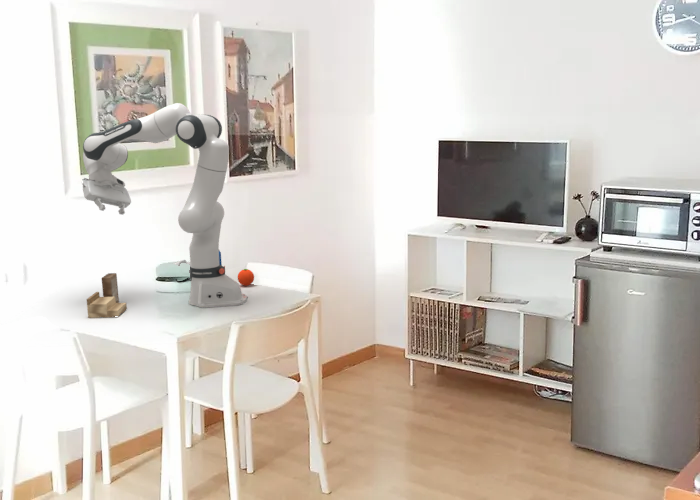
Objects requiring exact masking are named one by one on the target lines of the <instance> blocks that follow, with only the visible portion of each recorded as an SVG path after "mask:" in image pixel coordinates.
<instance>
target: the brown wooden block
mask: <svg viewBox="0 0 700 500" xmlns="http://www.w3.org/2000/svg"><path fill="white" fill-rule="evenodd" d="M101 284H102V285H101V286H102V288H101V289H102V297H115V299H116V303H120V301H119V300H120V298H119V287H118V276H117V272H116V273H115V272H113V273H112V272H111V273H109V272H108V273H107V274H105V275H104V276H103V277H101Z"/></svg>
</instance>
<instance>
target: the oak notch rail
mask: <svg viewBox="0 0 700 500" xmlns="http://www.w3.org/2000/svg"><path fill="white" fill-rule="evenodd" d="M86 307H87V318H89V319H91V318H92V319H95V318H96V319H97V318H99V319H101V318H100V317H103V318H116V317H115V316H119V315H120V314H121V313H122V314H123V313H125V311H126V309H127V310H128V306H127V302H119V303H116V299H115V297H103V296H100V291H96V292H94V293H93V294H92V295H90V296H89V297H88V298H86ZM122 314H121V315H122ZM121 315H120V316H121ZM120 316H119V317H120Z"/></svg>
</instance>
